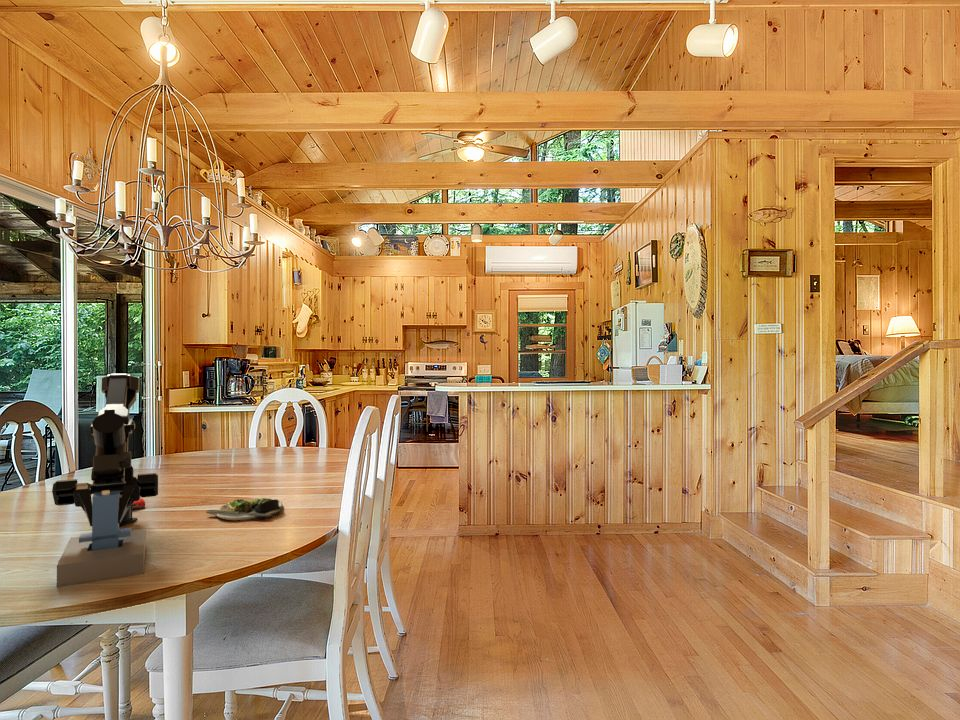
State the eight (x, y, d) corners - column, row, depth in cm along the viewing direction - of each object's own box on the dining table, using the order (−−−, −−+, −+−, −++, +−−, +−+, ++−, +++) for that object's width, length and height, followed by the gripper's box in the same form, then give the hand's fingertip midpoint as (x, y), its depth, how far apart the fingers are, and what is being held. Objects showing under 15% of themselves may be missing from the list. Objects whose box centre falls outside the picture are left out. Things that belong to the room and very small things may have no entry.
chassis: (70, 556, 121) (70, 537, 121) (145, 545, 128) (146, 528, 128) (56, 586, 105) (56, 565, 105) (143, 573, 112) (143, 553, 112)
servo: (81, 556, 116) (81, 490, 116) (130, 549, 120) (131, 485, 120) (78, 562, 113) (79, 494, 113) (130, 555, 117) (130, 489, 117)
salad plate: (200, 527, 143) (200, 509, 143) (211, 508, 160) (211, 492, 160) (280, 521, 149) (280, 504, 149) (283, 504, 166) (283, 488, 166)
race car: (147, 509, 158) (147, 495, 158) (125, 513, 154) (125, 499, 154) (133, 500, 167) (133, 487, 167) (112, 503, 163) (112, 490, 163)
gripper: (53, 442, 115) (43, 508, 106) (158, 436, 124) (157, 497, 115) (59, 472, 122) (50, 538, 113) (158, 465, 131) (157, 525, 122)
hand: (105, 523), depth 115 cm, fingers closed on servo, 4 cm apart
